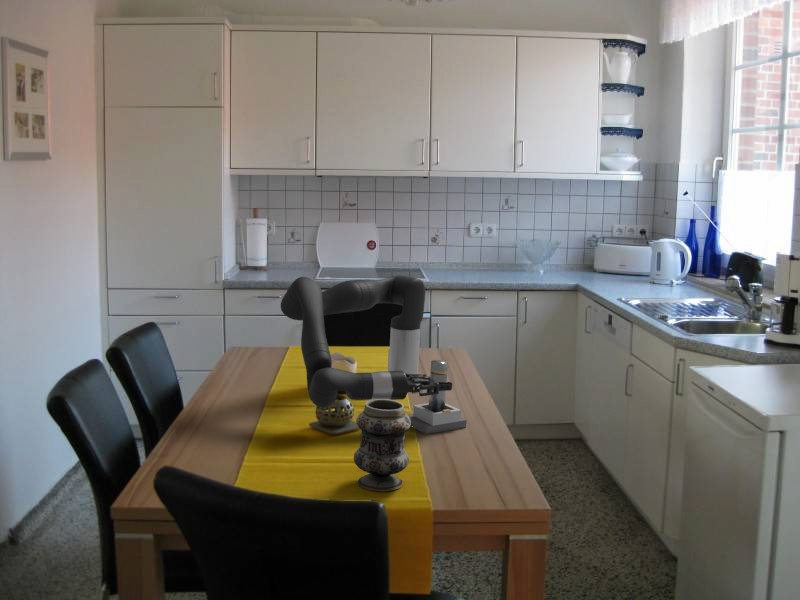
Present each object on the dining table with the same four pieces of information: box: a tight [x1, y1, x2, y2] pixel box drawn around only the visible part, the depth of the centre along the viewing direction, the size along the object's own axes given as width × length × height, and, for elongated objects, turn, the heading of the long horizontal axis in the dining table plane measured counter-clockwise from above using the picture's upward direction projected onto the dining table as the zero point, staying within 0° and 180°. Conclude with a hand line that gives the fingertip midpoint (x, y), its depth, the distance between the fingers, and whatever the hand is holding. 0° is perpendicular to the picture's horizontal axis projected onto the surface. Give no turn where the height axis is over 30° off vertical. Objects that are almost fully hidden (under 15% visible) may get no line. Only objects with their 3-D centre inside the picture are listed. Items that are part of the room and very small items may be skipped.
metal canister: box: [428, 359, 449, 413], centre depth 233 cm, size 5×5×14 cm
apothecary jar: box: [353, 399, 411, 492], centre depth 191 cm, size 12×12×18 cm
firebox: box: [406, 402, 468, 435], centre depth 235 cm, size 11×13×6 cm
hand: (447, 383), depth 234 cm, fingers closed on metal canister, 4 cm apart
